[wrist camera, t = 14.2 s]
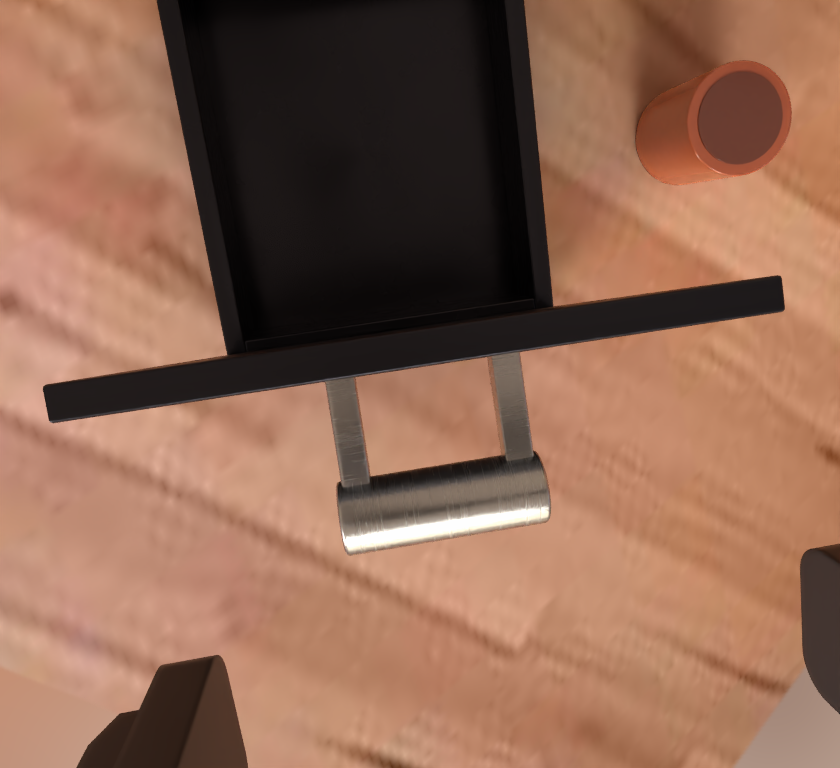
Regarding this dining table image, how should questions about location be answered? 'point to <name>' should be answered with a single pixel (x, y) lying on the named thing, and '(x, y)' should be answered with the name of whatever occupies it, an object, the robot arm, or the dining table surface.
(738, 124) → the terracotta cup
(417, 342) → the lid
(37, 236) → the dining table surface
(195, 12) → the black open box
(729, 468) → the dining table surface
